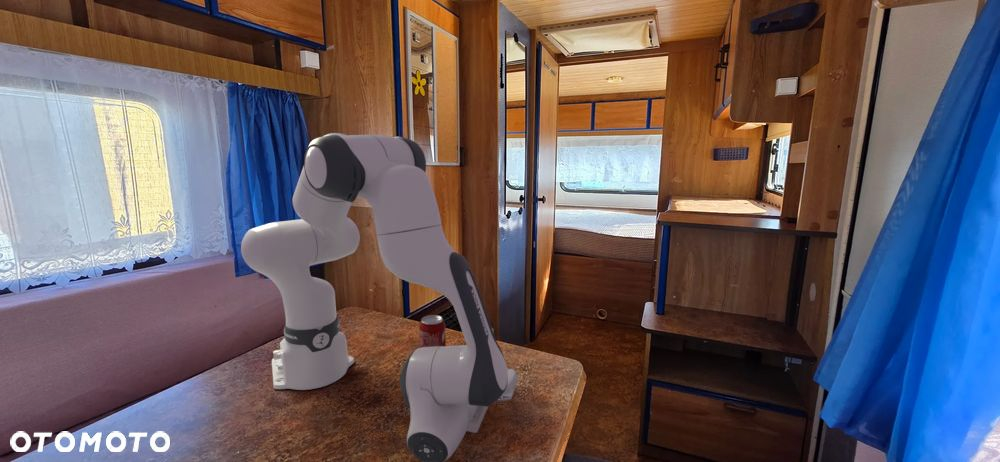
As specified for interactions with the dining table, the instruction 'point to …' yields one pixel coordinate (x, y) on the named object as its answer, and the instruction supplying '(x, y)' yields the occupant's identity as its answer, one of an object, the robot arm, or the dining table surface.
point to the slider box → (477, 419)
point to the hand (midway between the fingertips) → (478, 360)
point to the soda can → (432, 331)
